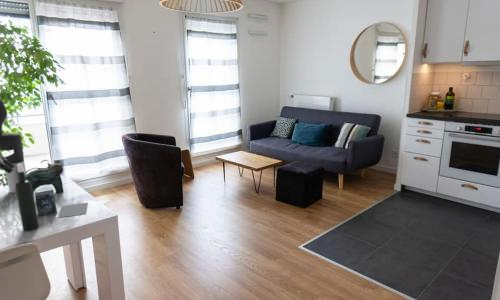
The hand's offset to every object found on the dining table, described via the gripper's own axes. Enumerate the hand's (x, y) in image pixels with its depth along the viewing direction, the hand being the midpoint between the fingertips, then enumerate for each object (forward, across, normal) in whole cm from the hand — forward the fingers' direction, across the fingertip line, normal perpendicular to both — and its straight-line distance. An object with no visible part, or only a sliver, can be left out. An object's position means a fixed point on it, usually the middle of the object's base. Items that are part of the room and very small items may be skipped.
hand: (12, 169), depth 153 cm
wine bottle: (+21, -16, +13) cm, 29 cm away
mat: (+32, -5, -1) cm, 33 cm away
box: (+25, -2, +7) cm, 26 cm away
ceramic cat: (+24, +23, +6) cm, 34 cm away
